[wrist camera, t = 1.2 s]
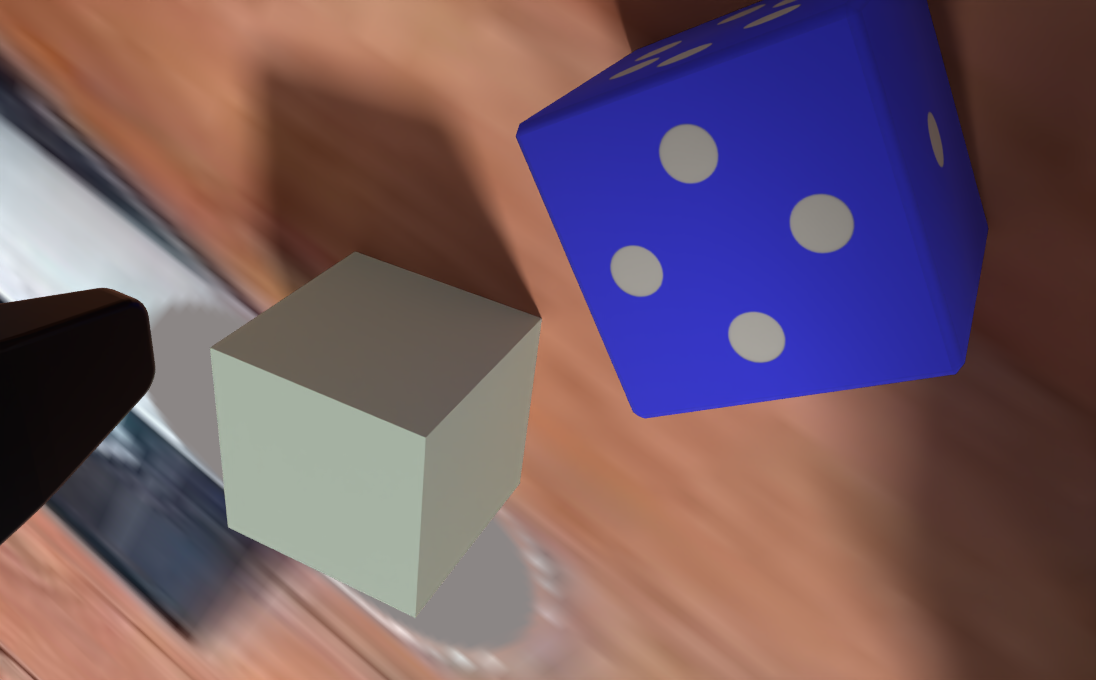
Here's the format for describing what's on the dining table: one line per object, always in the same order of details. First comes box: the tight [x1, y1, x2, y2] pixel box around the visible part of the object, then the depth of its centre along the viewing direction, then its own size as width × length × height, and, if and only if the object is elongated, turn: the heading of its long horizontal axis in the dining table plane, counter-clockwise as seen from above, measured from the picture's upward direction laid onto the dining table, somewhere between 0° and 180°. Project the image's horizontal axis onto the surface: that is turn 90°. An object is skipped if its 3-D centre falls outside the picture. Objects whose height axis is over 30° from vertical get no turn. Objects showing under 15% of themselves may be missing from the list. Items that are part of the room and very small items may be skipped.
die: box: [516, 0, 988, 418], centre depth 15 cm, size 5×5×5 cm
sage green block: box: [210, 252, 542, 618], centre depth 21 cm, size 5×5×5 cm
